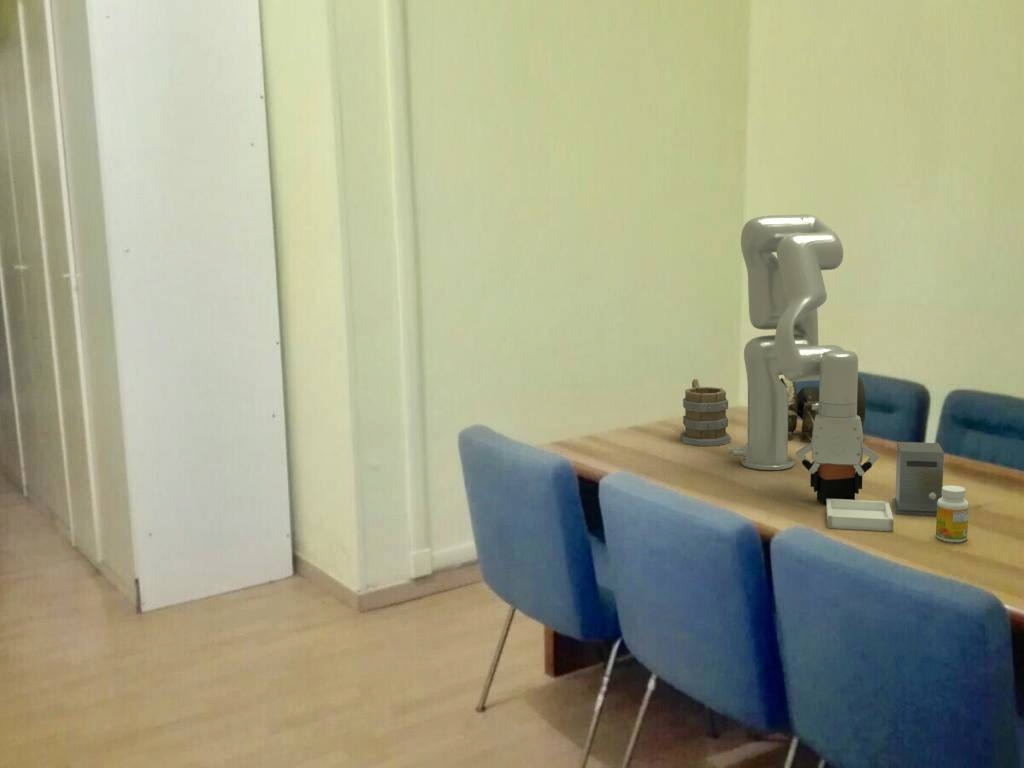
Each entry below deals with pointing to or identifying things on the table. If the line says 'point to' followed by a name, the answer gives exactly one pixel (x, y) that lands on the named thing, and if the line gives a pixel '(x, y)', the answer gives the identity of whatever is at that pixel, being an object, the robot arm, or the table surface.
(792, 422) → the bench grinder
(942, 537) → the supplement bottle
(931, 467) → the control box
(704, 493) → the table surface
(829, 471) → the battery
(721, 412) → the tankard
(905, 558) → the table surface
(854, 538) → the table surface
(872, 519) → the tray
